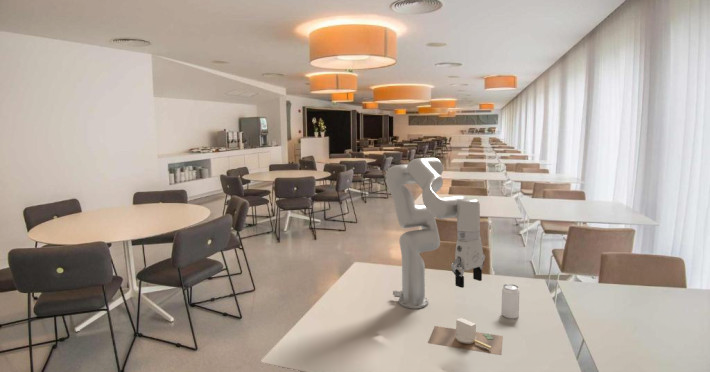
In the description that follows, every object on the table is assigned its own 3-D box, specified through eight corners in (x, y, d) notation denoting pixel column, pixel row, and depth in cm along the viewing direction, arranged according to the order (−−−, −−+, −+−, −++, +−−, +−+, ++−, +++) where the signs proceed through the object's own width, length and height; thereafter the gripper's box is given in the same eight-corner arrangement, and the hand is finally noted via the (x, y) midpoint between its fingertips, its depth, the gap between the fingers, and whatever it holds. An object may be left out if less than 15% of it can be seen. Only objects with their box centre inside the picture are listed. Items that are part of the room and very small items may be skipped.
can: (520, 319, 164) (521, 290, 162) (502, 318, 165) (503, 289, 163) (517, 312, 170) (518, 284, 168) (500, 311, 171) (501, 283, 170)
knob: (451, 338, 147) (451, 321, 147) (463, 331, 152) (463, 315, 151) (484, 353, 137) (485, 335, 136) (496, 346, 141) (497, 328, 141)
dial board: (427, 346, 146) (427, 342, 145) (434, 329, 158) (434, 325, 157) (501, 359, 137) (501, 354, 137) (502, 340, 149) (502, 335, 149)
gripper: (461, 241, 136) (461, 292, 138) (493, 232, 147) (493, 280, 149) (443, 237, 142) (443, 286, 144) (475, 229, 153) (475, 275, 155)
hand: (468, 283), depth 147 cm, fingers open, 9 cm apart
